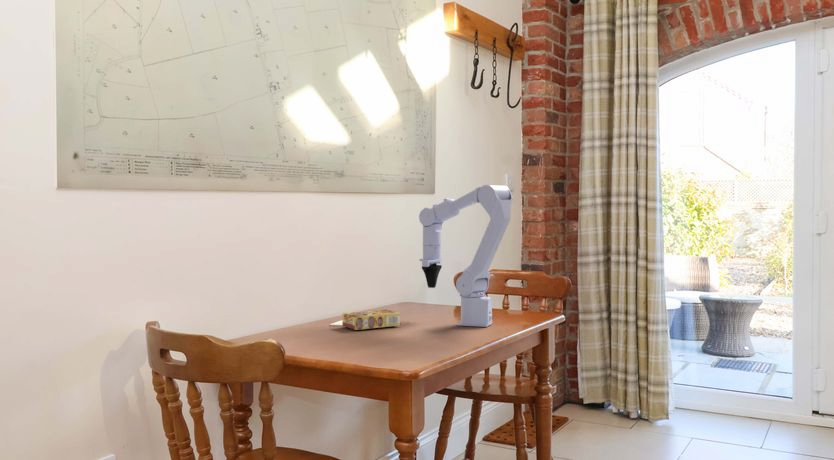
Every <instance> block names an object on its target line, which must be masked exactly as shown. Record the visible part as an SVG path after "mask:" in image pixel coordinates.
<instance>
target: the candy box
mask: <svg viewBox="0 0 834 460" xmlns="http://www.w3.org/2000/svg"><path fill="white" fill-rule="evenodd" d="M400 315H401V313H400V312H397V311H394V310H390V309H377V310H376V309H375V310H368V311H357V312H356V311H354V312H353V311H352V312H343V313H342V316H341V317H342V319H341V320H342V325H343V326H342V327H345V328H348V329H351V330H353V331H359V330H361V331H362V330H369V329H376V328H377V329H379V328H387V327H388V328H389V327H396V326H398V327H399V326H400V325H401V324H400V323H401V316H400Z"/></svg>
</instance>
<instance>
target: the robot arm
mask: <svg viewBox="0 0 834 460" xmlns="http://www.w3.org/2000/svg"><path fill="white" fill-rule="evenodd" d="M513 201H514V197H513V194H512V192H511V190H510V188H509V187H508V186H507V185H503V184H501V185H493V184H492V185H490V184H484V185H482V186H479V187H476V188H475V189H474V190H472V191H470V192H468V193H466V194H464V195H462V196H460V197H459V198H457V199H454V198H448V197H445V198H444V199H443V201H442V202H440V203H438V204H436V203H435V204H432V207H424V208H423V209H422V210H420V212H419V215H418V217H419V218H418V219H419V223H420V224H421V225H422V258H419V262H421V269H422V272H424V276H425V279H426V285H427V288H428V289H435V288H436V287H437V283H438V277H439V274H440V272H441V269H442V257H441V253H442V252H441V249H442V248H441V247H442V246H441V243H442V242H441V240H442V239H441V235H442V234H441V231H442V226H443V224H444V222H445V221H448V220H450V219H452V218H454V217H456V216H458V215H460V210H463V209H465V208H468V207H470V206H472V205H475V204H478V203H479V204H480V205H481V206H482V208H483V209H484V210H485V212H486V213H487V214H488V216H489V218H490V219H489V222H488V224H487V227H486V229H485V231H484V234H483V236H482V238H481V241H480V243H479V245H478V248H477V250H476V252H475V255H474V257H473V259H472V261H471V263H470V265H468V266H467V267H466V268H464V270H463V271H462V273H461V275H459V276H458V278H457V279H456V281H455V288H456V291H457V293H459V297H460V321H459V322H458V323H457V324H456V326H459V327H460V326H461V327H464V326H465V327H466V326H467V327H482V328H483V327H484V328H485V327H486V328H487V327H490V325H492V324H493V300H492V297H491V296H486V292H487V291H488V289H489V287H490V278H491V272H490V271H489V269H490V266H491V264H492V262H493V259H494V257H495V255H496V253H497V251H498V249H499V246H500V245H501V242H502V240H503V237H504V235H505V232H506V230H507V229H508V227H509V223H510V221H511V215H512V214H511V213H512V211H511V209H512V202H513Z"/></svg>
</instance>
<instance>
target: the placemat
mask: <svg viewBox="0 0 834 460" xmlns="http://www.w3.org/2000/svg"><path fill="white" fill-rule="evenodd" d="M328 325H329V326H332V327H344V326H343V325H342V319H341V320H338V321H335V322H332V323H330V324H328Z"/></svg>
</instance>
